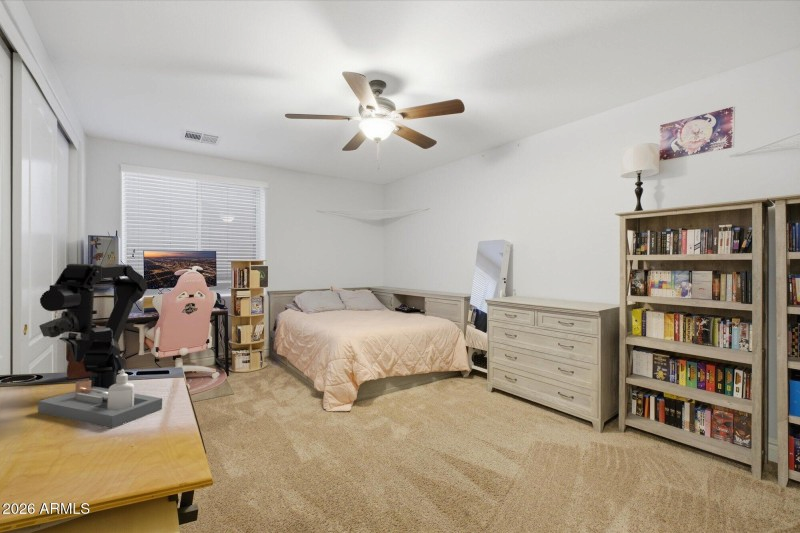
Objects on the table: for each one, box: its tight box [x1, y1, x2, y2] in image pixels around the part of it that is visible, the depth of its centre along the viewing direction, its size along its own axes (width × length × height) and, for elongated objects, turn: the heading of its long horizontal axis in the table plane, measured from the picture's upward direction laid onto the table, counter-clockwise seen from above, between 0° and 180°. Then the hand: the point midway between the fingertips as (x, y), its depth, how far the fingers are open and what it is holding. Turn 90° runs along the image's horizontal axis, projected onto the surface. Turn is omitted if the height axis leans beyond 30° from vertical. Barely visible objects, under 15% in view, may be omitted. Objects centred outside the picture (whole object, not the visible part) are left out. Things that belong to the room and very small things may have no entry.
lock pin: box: [74, 379, 108, 401], centre depth 101 cm, size 3×12×4 cm, turn 73°
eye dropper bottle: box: [107, 369, 135, 411], centre depth 98 cm, size 4×6×12 cm
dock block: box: [37, 386, 163, 429], centre depth 100 cm, size 14×27×4 cm, turn 73°
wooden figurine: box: [65, 324, 102, 380], centre depth 130 cm, size 12×6×18 cm, turn 137°
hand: (77, 361), depth 105 cm, fingers closed
